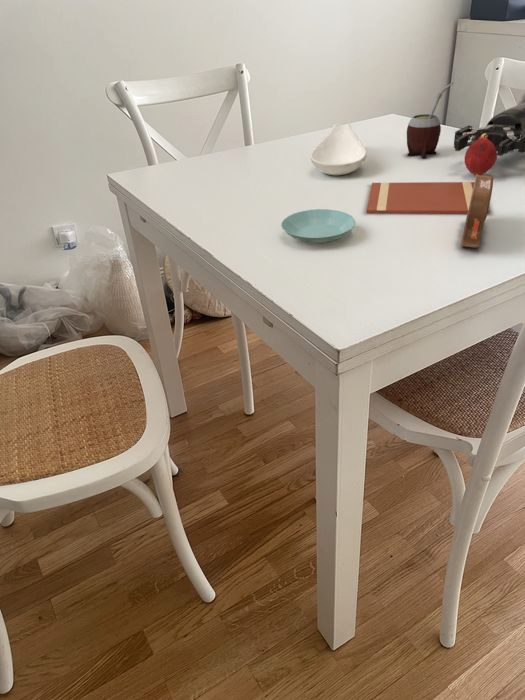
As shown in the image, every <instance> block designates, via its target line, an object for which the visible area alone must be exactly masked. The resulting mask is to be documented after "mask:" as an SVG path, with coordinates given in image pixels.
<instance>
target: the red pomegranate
mask: <svg viewBox="0 0 525 700" xmlns="http://www.w3.org/2000/svg"><path fill="white" fill-rule="evenodd" d="M487 137H488V135H487V134H485V133H484V134H482V135H481V137H480V138H479V139H478V140H477V141H475V142H474V143H472V144H471V145H470V146H468V148H467V149H466V151H465V153H464V165H465V168H466V170H467V171H468V172H469V173H471V174H472V175H473V176H475V177H476V174H478V175H484V174H486V173H488V172H489V171H490V170H492V168H493V167H494V166H495V164H496V162H497V159H498V155H497V150H496V148H495V146H494V144H493V143H492V142H491V141H490V140H488V138H487Z"/></svg>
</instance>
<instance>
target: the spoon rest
mask: <svg viewBox="0 0 525 700" xmlns="http://www.w3.org/2000/svg"><path fill="white" fill-rule="evenodd" d="M367 155H368V152H367V149H366V148H365V146H364V144H363V143H362V141H361V140H360V138H359V137H358V135H357V134H356V133H355V132H354V130H353V128H352V126H351V123H346V124H339V123H335V124H334V125H333V126H332V128H331V130H329V132H328V133H327V134H326V135H325V137H324V138H322V140H321V141H320V142H319V143H317V145H316V146H315V147H314V149H312V151H311V153H310V155H309V159H310V161H311V163H312V165H313V166H314V167H315V169H317V170H318V171H320V172H321V173H324V174H326V175H329V176H337V177H338V176H345V175H349V174H351V173H353V172H354V171H356V170H357V169H359V168H360V167H361V166H362V165H363V163H364V162H365V160H366V158H367V157H368V156H367Z"/></svg>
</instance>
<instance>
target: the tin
mask: <svg viewBox="0 0 525 700" xmlns="http://www.w3.org/2000/svg"><path fill="white" fill-rule="evenodd" d="M473 182H474V187H473V191H472V196H471V201H470V205H469V210H468V214H466V217H465V224H464V228H463V233H462V237H461V242H460V247H461V248H462V247H466V248H474V249H477V248H479V247H480V246H481V243H482V234H483V227H484V225H485V221H486V219H487V216H488V214H487V213H488V209H489V210H490V204H491V200H492V193H493V187H494V177H493V176H491V175H484V174H483V175H478V174H476V176H475V178H474V181H473Z"/></svg>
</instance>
